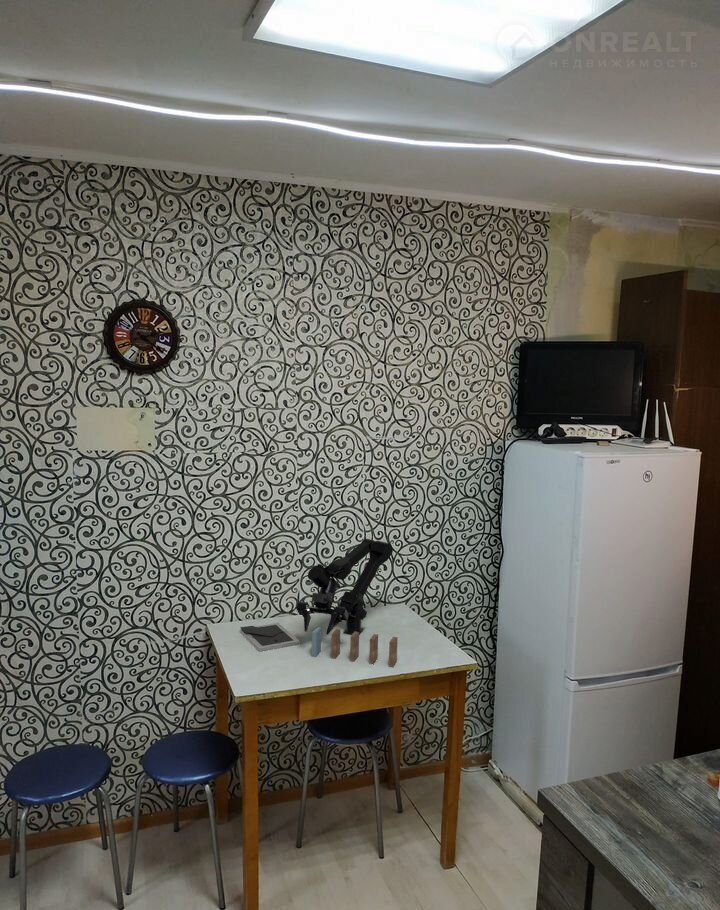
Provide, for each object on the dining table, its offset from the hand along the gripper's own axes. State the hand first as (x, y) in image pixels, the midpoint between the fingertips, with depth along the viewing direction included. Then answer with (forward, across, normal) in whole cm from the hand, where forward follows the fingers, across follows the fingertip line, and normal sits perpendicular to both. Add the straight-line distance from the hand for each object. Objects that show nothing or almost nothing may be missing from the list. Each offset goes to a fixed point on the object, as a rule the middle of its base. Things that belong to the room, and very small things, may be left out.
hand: (316, 632), depth 250 cm
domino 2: (+5, +7, +7) cm, 11 cm away
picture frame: (+1, -22, +12) cm, 25 cm away
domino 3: (+5, +14, +7) cm, 16 cm away
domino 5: (+5, +28, +7) cm, 29 cm away
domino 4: (+5, +21, +7) cm, 23 cm away
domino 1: (+5, 0, +6) cm, 8 cm away
